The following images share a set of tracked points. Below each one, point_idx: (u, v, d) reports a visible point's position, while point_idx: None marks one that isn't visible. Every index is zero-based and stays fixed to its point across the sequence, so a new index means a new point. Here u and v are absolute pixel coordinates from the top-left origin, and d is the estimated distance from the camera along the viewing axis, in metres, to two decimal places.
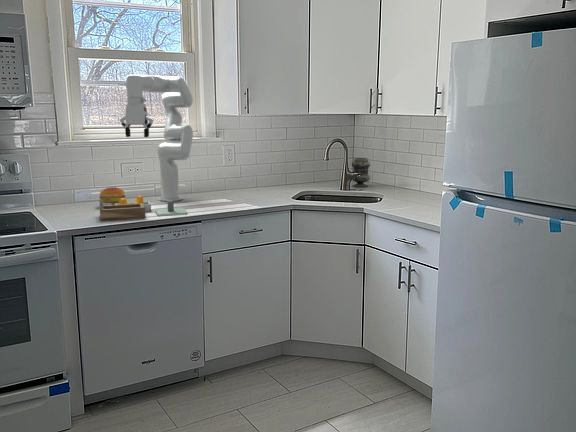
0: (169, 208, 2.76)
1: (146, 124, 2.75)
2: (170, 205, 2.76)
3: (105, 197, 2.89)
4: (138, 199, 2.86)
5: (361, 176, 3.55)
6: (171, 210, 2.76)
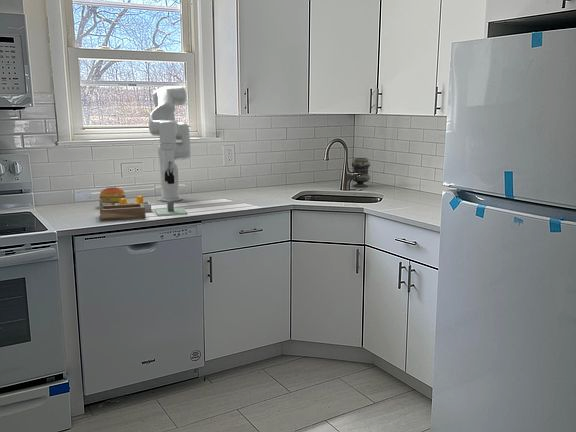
0: (169, 208, 2.76)
1: None
2: (170, 205, 2.76)
3: (105, 197, 2.89)
4: (138, 199, 2.86)
5: (361, 176, 3.55)
6: (171, 210, 2.76)
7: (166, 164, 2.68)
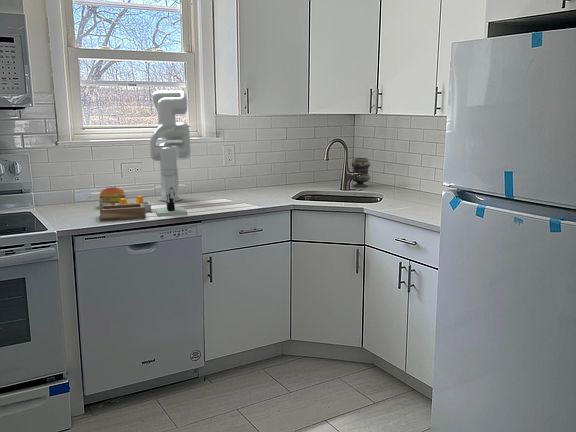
0: None
1: (167, 196, 2.78)
2: None
3: (105, 197, 2.89)
4: (138, 199, 2.86)
5: (361, 176, 3.55)
6: None
7: (167, 190, 2.70)
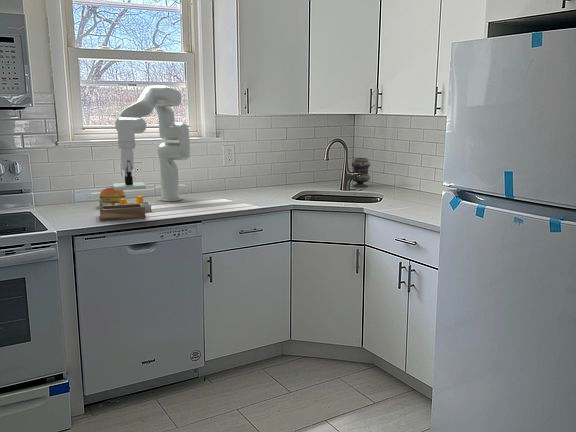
0: None
1: (125, 170, 2.68)
2: None
3: (105, 197, 2.89)
4: (138, 199, 2.86)
5: (361, 176, 3.55)
6: None
7: (124, 163, 2.60)
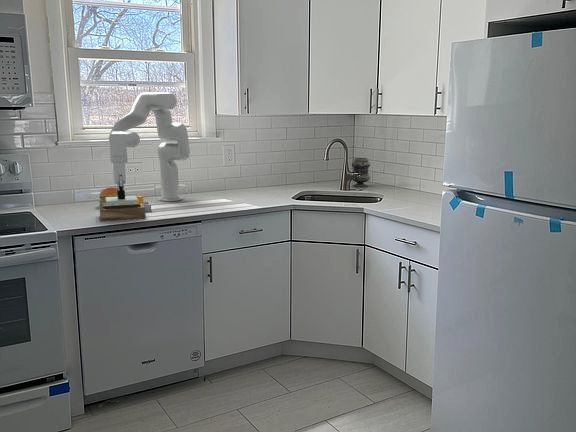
0: None
1: (118, 184, 2.68)
2: None
3: (105, 197, 2.89)
4: (138, 199, 2.86)
5: (361, 176, 3.55)
6: None
7: (116, 177, 2.59)
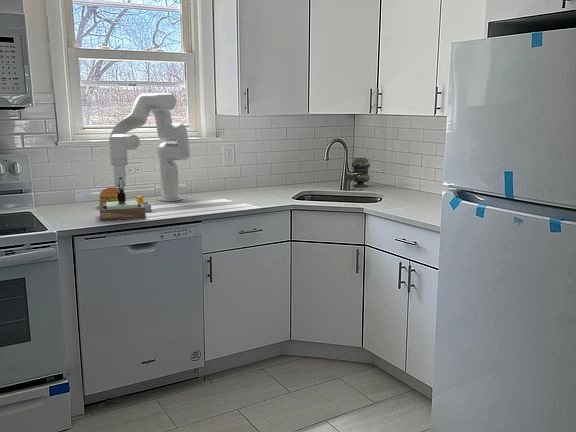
0: None
1: None
2: None
3: (105, 197, 2.89)
4: (138, 199, 2.86)
5: (361, 176, 3.55)
6: (122, 202, 2.66)
7: (116, 180, 2.60)
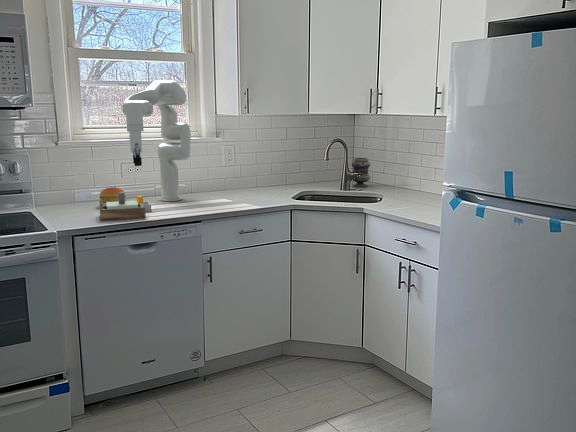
0: (120, 200, 2.66)
1: None
2: (121, 197, 2.65)
3: (105, 197, 2.89)
4: (138, 199, 2.86)
5: (361, 176, 3.55)
6: (122, 202, 2.66)
7: (133, 146, 2.63)
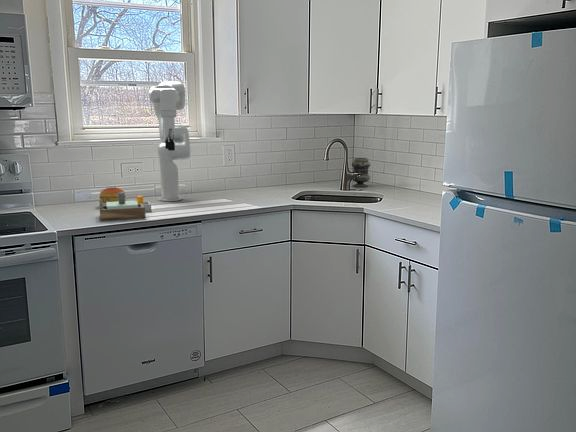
0: (120, 200, 2.66)
1: (166, 136, 2.83)
2: (121, 197, 2.65)
3: (105, 197, 2.89)
4: (138, 199, 2.86)
5: (361, 176, 3.55)
6: (122, 202, 2.66)
7: (167, 131, 2.73)
